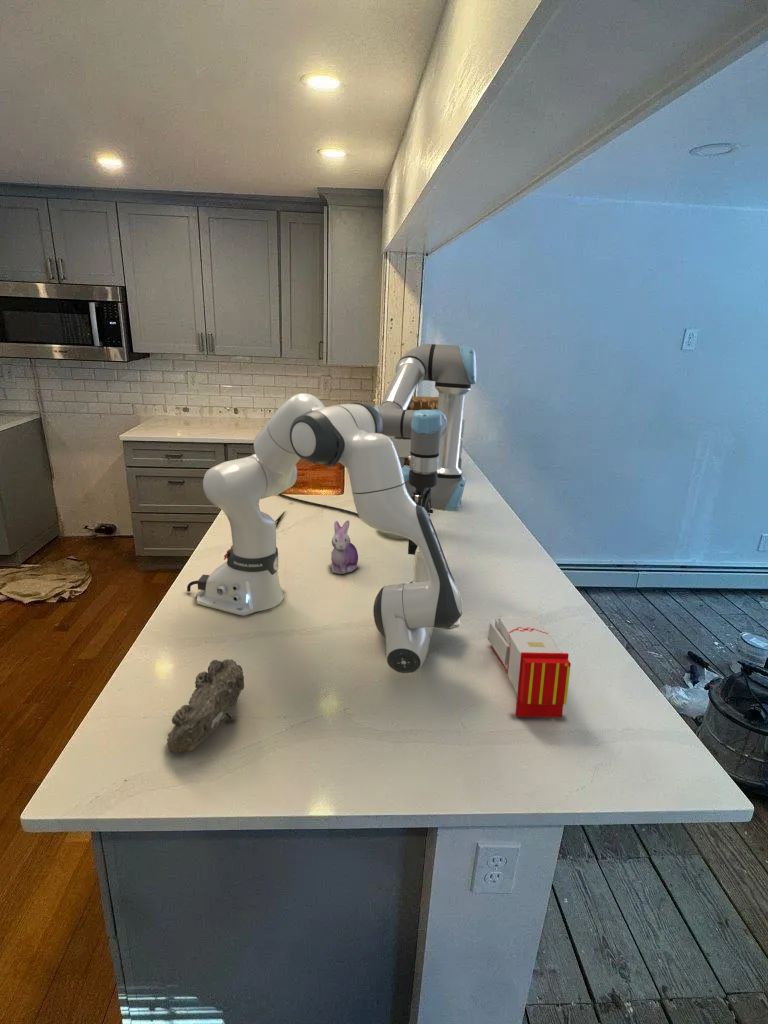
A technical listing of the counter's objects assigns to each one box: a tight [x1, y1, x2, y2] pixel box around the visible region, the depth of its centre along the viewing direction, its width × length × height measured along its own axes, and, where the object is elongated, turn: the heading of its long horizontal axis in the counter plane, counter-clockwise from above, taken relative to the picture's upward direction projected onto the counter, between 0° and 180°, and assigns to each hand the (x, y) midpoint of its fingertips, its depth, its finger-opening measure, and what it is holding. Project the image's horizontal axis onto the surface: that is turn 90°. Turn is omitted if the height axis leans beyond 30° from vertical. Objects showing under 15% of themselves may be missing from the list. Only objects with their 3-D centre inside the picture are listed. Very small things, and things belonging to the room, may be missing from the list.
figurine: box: [330, 519, 359, 575], centre depth 169 cm, size 9×10×15 cm
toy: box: [487, 616, 572, 718], centre depth 123 cm, size 12×13×30 cm
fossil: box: [166, 658, 245, 754], centre depth 106 cm, size 22×10×15 cm
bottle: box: [412, 547, 431, 583], centre depth 141 cm, size 4×4×24 cm
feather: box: [274, 510, 286, 528], centre depth 212 cm, size 2×28×2 cm
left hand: (421, 595), depth 144 cm, fingers open, 6 cm apart
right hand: (418, 544), depth 156 cm, fingers open, 13 cm apart
